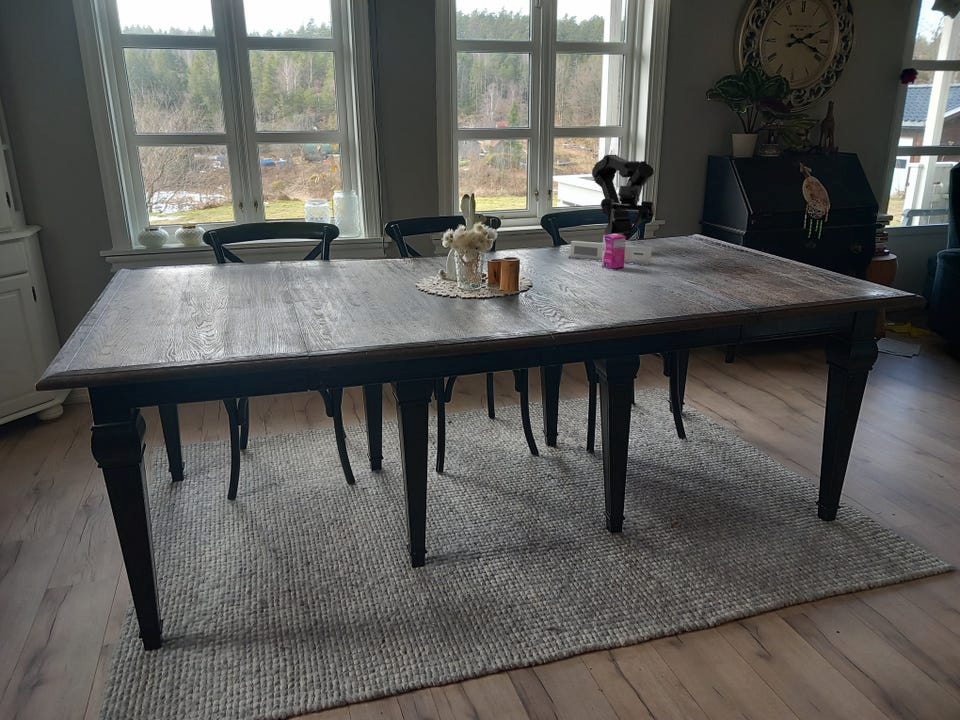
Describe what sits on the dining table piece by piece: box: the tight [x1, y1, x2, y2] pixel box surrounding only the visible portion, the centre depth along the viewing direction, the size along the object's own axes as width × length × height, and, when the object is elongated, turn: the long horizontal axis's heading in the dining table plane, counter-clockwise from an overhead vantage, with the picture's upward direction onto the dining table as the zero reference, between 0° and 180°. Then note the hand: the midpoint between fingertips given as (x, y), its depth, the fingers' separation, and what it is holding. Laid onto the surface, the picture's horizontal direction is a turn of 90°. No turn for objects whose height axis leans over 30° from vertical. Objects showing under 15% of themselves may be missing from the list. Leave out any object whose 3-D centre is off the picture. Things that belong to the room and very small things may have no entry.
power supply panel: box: [568, 240, 653, 266], centre depth 264 cm, size 6×30×6 cm, turn 62°
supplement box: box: [601, 234, 627, 270], centre depth 251 cm, size 6×6×12 cm
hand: (621, 226), depth 255 cm, fingers open, 9 cm apart
